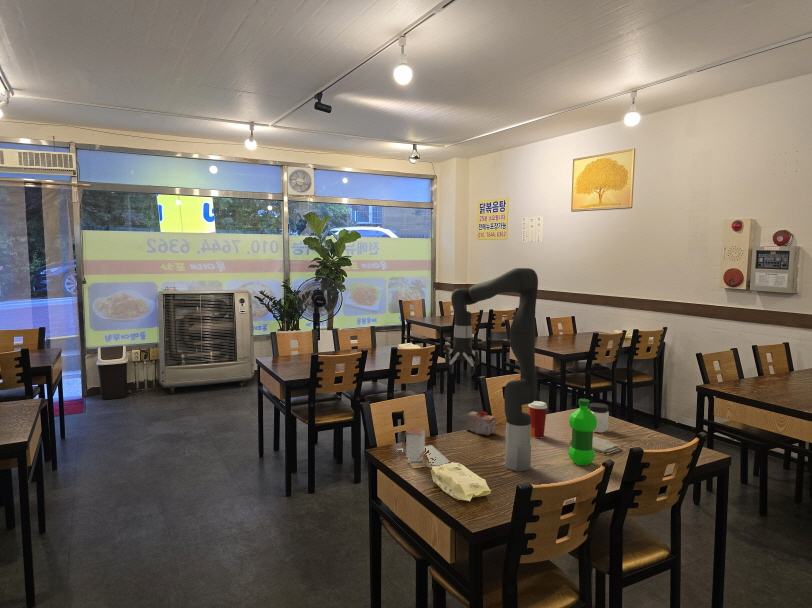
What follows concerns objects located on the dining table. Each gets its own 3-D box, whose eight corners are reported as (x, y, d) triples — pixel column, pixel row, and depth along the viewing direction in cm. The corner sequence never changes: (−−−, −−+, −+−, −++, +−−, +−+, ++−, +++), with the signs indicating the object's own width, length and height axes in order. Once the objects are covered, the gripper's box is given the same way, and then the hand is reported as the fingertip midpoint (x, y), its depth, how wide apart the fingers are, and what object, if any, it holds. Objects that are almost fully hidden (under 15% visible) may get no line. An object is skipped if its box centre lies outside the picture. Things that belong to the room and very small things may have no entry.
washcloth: (605, 457, 215) (606, 449, 215) (568, 444, 230) (568, 437, 229) (622, 451, 222) (622, 444, 222) (585, 439, 237) (585, 432, 237)
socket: (425, 454, 208) (425, 430, 207) (420, 459, 202) (420, 434, 201) (410, 452, 210) (411, 428, 209) (405, 457, 204) (405, 432, 204)
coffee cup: (548, 435, 240) (549, 402, 239) (542, 440, 233) (544, 406, 232) (530, 431, 244) (531, 399, 243) (524, 436, 238) (525, 403, 236)
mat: (453, 465, 203) (453, 464, 203) (413, 470, 198) (413, 469, 198) (431, 446, 224) (431, 445, 224) (395, 449, 219) (395, 449, 219)
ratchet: (425, 462, 204) (425, 445, 204) (410, 464, 202) (410, 446, 202) (413, 450, 217) (414, 433, 216) (399, 452, 215) (399, 435, 214)
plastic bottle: (564, 458, 212) (566, 396, 210) (590, 458, 212) (593, 397, 210) (571, 467, 202) (573, 403, 200) (599, 468, 202) (602, 403, 200)
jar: (601, 434, 242) (602, 408, 241) (584, 430, 248) (585, 405, 247) (610, 430, 248) (611, 405, 247) (593, 426, 254) (595, 401, 253)
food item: (498, 433, 241) (499, 412, 241) (489, 438, 235) (490, 416, 235) (473, 427, 250) (473, 406, 249) (463, 431, 244) (464, 410, 243)
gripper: (443, 335, 223) (443, 374, 224) (477, 338, 218) (476, 377, 219) (448, 333, 230) (448, 370, 231) (481, 335, 225) (480, 373, 226)
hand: (461, 373), depth 225 cm, fingers open, 8 cm apart
